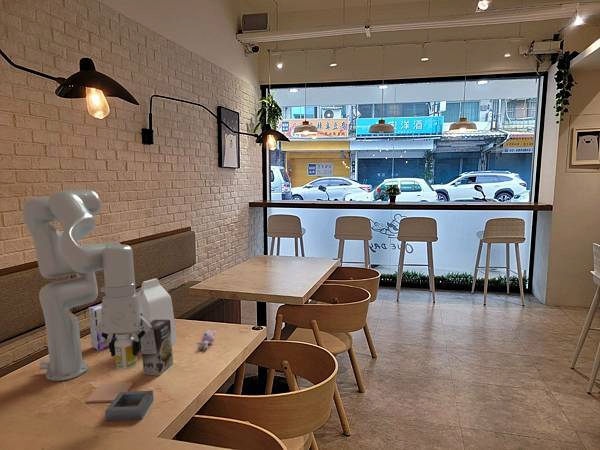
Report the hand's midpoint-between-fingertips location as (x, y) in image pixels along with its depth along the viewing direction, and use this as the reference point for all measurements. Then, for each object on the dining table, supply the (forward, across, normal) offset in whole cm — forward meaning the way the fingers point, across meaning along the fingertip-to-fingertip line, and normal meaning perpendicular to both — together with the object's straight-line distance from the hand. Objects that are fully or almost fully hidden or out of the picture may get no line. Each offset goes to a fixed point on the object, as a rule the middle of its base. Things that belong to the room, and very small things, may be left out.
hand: (126, 353), depth 114 cm
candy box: (+17, -26, +49) cm, 58 cm away
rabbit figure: (+17, +13, +44) cm, 49 cm away
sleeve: (+17, 0, 0) cm, 17 cm away
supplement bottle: (+4, 0, 0) cm, 4 cm away
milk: (+17, -8, +46) cm, 50 cm away
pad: (+17, -10, +10) cm, 22 cm away
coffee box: (+17, 0, +25) cm, 30 cm away
